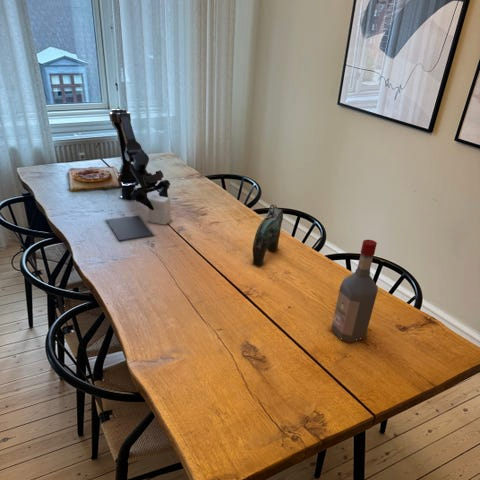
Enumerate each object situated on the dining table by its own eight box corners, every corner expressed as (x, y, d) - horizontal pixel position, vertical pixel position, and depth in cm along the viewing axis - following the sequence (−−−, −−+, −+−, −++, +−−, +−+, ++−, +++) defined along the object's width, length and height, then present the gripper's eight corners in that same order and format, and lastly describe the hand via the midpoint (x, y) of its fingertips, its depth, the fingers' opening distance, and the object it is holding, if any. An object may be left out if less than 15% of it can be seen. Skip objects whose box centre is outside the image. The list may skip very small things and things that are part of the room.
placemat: (106, 220, 195) (106, 219, 195) (138, 216, 201) (137, 215, 201) (119, 241, 180) (119, 240, 179) (153, 236, 185) (153, 235, 185)
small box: (171, 220, 199) (170, 197, 193) (165, 225, 195) (164, 201, 189) (155, 217, 201) (153, 194, 195) (149, 222, 197) (147, 198, 191)
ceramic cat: (269, 244, 184) (273, 197, 173) (283, 248, 182) (289, 200, 171) (248, 264, 169) (251, 213, 158) (264, 268, 167) (268, 217, 156)
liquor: (344, 345, 131) (366, 252, 114) (327, 327, 138) (345, 237, 121) (369, 338, 134) (394, 247, 117) (352, 322, 141) (373, 233, 124)
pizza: (64, 171, 247) (62, 164, 245) (116, 168, 256) (115, 161, 254) (69, 193, 221) (68, 185, 219) (127, 188, 230) (126, 181, 228)
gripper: (132, 169, 180) (153, 203, 181) (166, 160, 193) (185, 192, 194) (121, 184, 189) (141, 216, 189) (154, 175, 201) (173, 205, 202)
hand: (161, 207), depth 193 cm, fingers open, 9 cm apart
